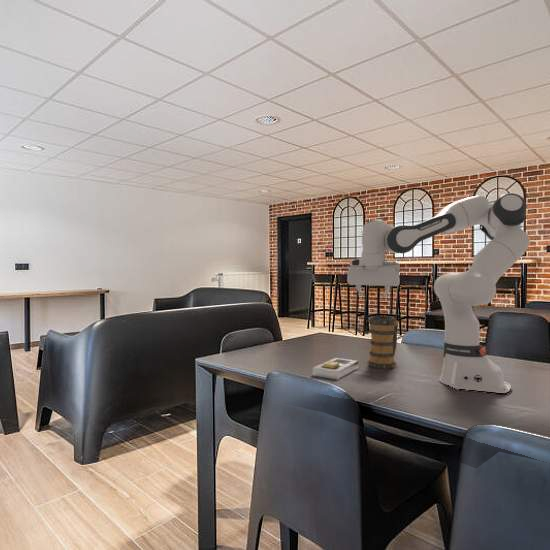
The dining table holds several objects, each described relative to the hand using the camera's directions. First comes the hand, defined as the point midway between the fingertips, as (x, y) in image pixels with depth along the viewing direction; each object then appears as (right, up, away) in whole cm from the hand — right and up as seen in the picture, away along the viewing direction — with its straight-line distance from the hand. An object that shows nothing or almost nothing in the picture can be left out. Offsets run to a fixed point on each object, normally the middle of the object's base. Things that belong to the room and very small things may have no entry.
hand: (372, 297), depth 160 cm
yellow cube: (-17, -29, -5) cm, 34 cm away
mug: (+8, -29, +11) cm, 32 cm away
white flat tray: (-14, -29, -1) cm, 32 cm away
